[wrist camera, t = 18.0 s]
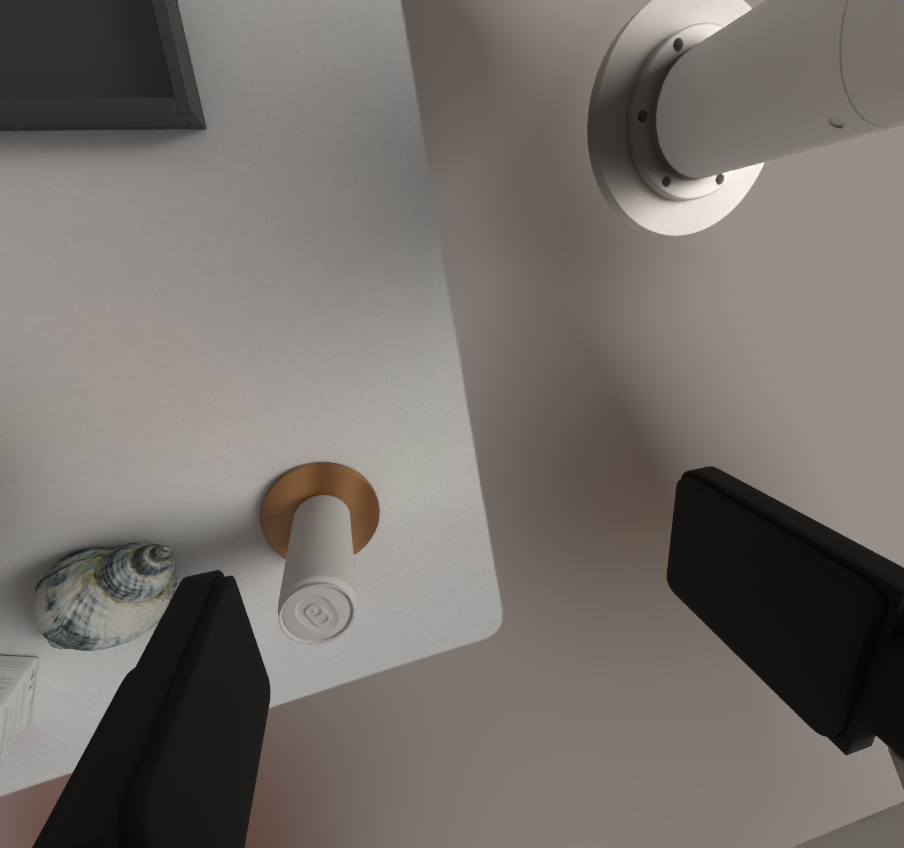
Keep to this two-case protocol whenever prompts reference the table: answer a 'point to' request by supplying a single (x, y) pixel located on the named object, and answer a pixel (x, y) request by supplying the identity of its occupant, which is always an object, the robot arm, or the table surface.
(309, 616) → the beverage can
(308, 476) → the copper pad
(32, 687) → the white packaging box
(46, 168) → the table surface
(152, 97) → the tray
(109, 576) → the seashell
